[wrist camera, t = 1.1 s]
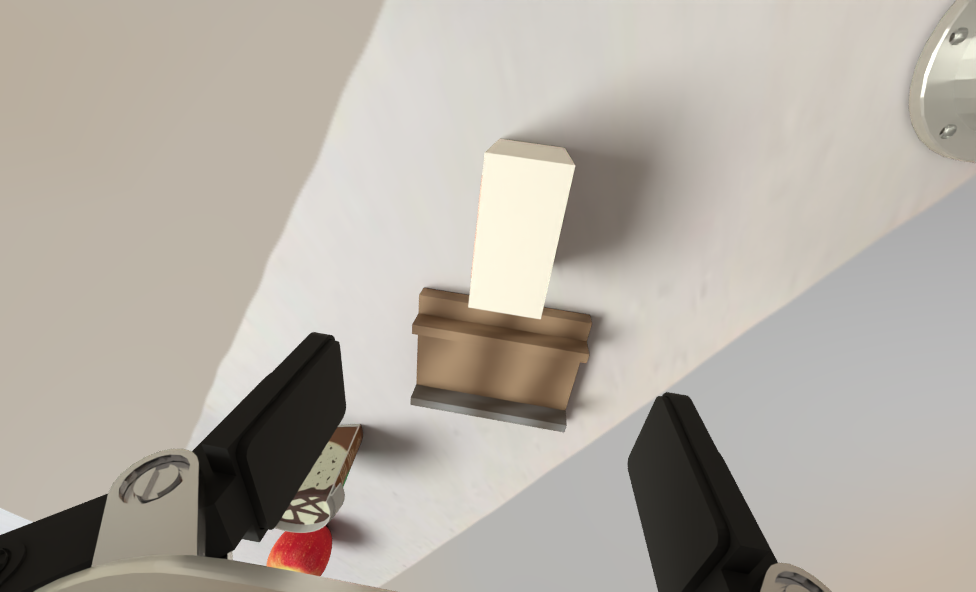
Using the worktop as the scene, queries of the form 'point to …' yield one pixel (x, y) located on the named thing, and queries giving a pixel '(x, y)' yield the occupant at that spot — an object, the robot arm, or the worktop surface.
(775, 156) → the worktop surface
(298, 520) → the food container
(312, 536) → the apple
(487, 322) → the shelf
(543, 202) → the box
